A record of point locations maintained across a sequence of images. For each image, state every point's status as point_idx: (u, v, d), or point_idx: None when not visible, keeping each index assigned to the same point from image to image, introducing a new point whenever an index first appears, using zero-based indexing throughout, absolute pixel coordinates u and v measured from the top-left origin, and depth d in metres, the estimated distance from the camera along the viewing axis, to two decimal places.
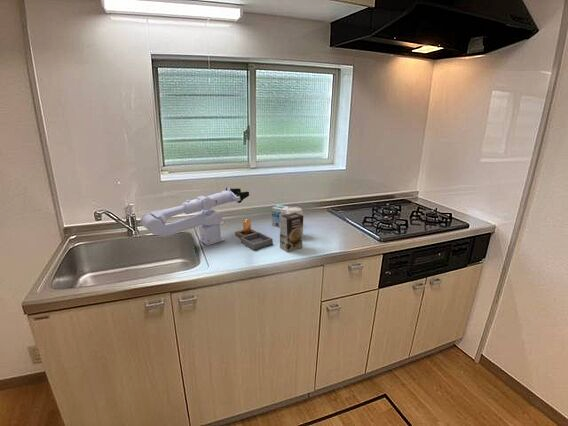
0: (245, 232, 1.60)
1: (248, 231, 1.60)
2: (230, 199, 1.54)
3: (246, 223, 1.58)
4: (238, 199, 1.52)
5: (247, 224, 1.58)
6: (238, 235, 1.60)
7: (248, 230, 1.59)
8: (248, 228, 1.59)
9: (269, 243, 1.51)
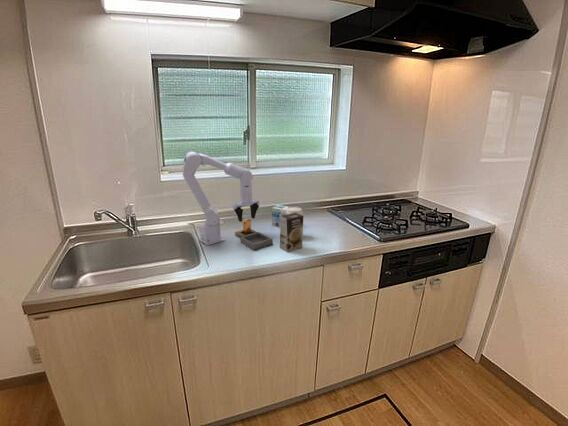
0: (245, 232, 1.60)
1: (248, 231, 1.60)
2: (240, 201, 1.55)
3: (246, 223, 1.58)
4: (233, 206, 1.52)
5: (247, 224, 1.58)
6: (238, 235, 1.60)
7: (248, 230, 1.59)
8: (248, 228, 1.59)
9: (269, 243, 1.51)
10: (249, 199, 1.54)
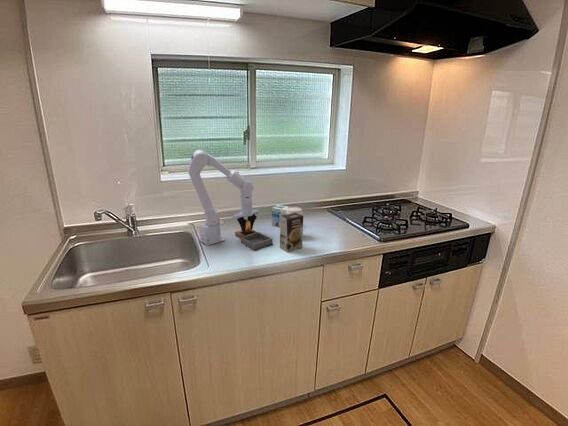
0: (245, 232, 1.60)
1: (248, 231, 1.60)
2: (241, 211, 1.57)
3: (246, 223, 1.58)
4: (234, 217, 1.54)
5: (247, 224, 1.58)
6: (238, 235, 1.60)
7: (248, 230, 1.59)
8: (248, 228, 1.59)
9: (269, 243, 1.51)
10: (249, 210, 1.56)
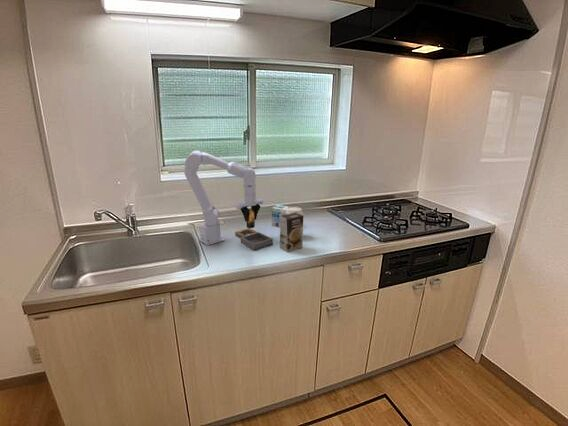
0: (249, 222, 1.54)
1: (252, 221, 1.54)
2: (244, 201, 1.51)
3: (250, 213, 1.52)
4: (237, 206, 1.48)
5: (251, 214, 1.53)
6: (238, 235, 1.60)
7: (252, 220, 1.54)
8: (252, 218, 1.53)
9: (269, 243, 1.51)
10: (253, 199, 1.50)
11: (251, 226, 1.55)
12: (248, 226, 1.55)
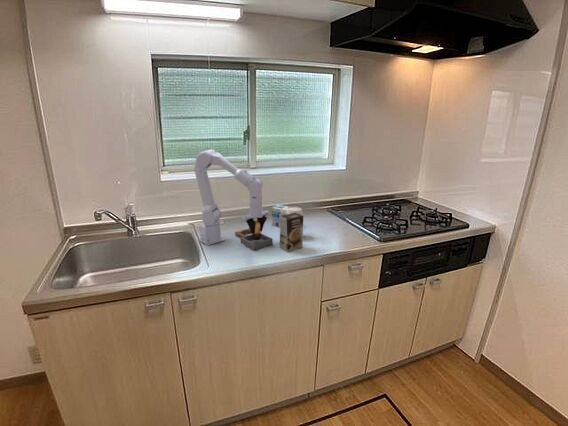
0: (254, 234, 1.50)
1: (257, 233, 1.50)
2: (250, 212, 1.47)
3: (255, 225, 1.48)
4: (242, 218, 1.44)
5: (256, 226, 1.48)
6: (238, 235, 1.60)
7: (258, 232, 1.49)
8: (258, 230, 1.49)
9: (269, 243, 1.51)
10: (259, 211, 1.46)
11: (257, 238, 1.50)
12: (254, 238, 1.50)
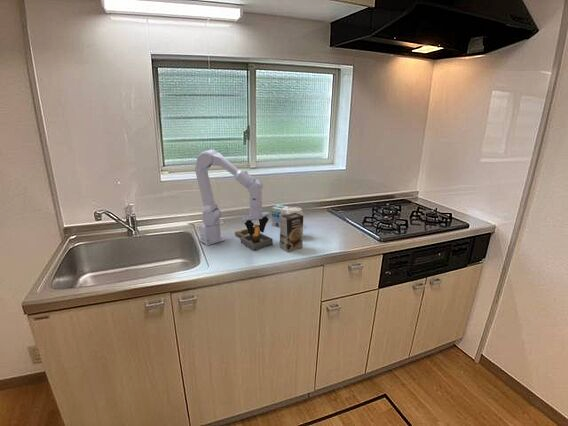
0: (254, 238, 1.50)
1: (257, 237, 1.50)
2: (250, 214, 1.47)
3: (255, 229, 1.49)
4: (242, 220, 1.44)
5: (256, 230, 1.49)
6: (238, 235, 1.60)
7: (257, 236, 1.50)
8: (257, 234, 1.50)
9: (269, 243, 1.51)
10: (259, 212, 1.46)
11: (257, 242, 1.51)
12: (254, 242, 1.51)
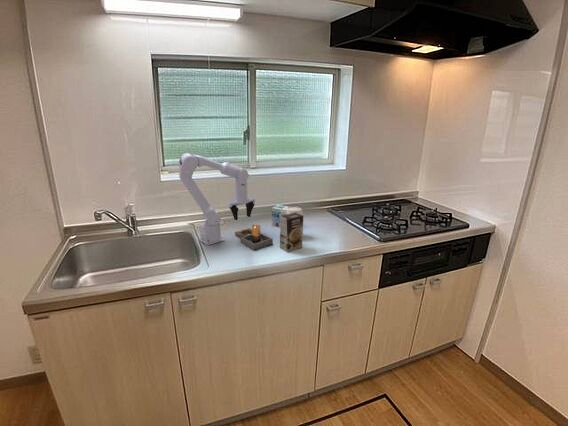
0: (254, 239, 1.50)
1: (257, 237, 1.50)
2: (236, 199, 1.56)
3: (255, 229, 1.49)
4: (228, 204, 1.53)
5: (256, 230, 1.49)
6: (238, 235, 1.60)
7: (257, 236, 1.50)
8: (257, 234, 1.50)
9: (269, 243, 1.51)
10: (244, 197, 1.55)
11: (257, 242, 1.51)
12: (254, 242, 1.51)
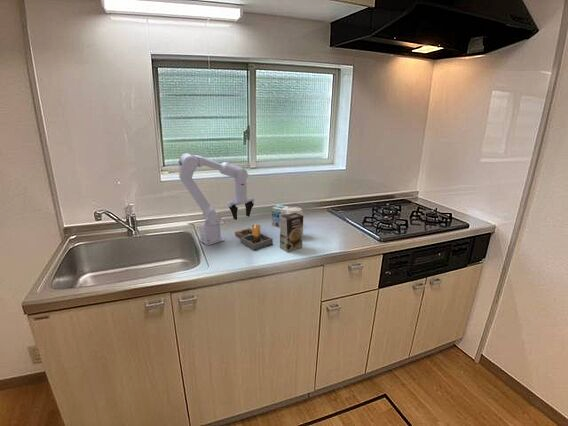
0: (254, 238, 1.50)
1: (257, 237, 1.50)
2: (235, 199, 1.57)
3: (256, 229, 1.49)
4: (228, 204, 1.54)
5: (257, 230, 1.49)
6: (238, 235, 1.60)
7: (257, 236, 1.50)
8: (258, 234, 1.50)
9: (269, 243, 1.51)
10: (244, 197, 1.55)
11: (257, 242, 1.51)
12: (254, 242, 1.51)
